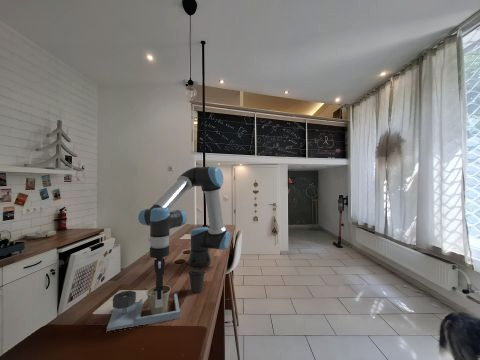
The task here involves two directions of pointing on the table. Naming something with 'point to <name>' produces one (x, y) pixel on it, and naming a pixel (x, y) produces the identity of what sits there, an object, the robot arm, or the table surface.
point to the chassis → (139, 316)
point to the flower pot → (151, 297)
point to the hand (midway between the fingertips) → (158, 298)
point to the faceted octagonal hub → (124, 299)
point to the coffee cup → (196, 280)
